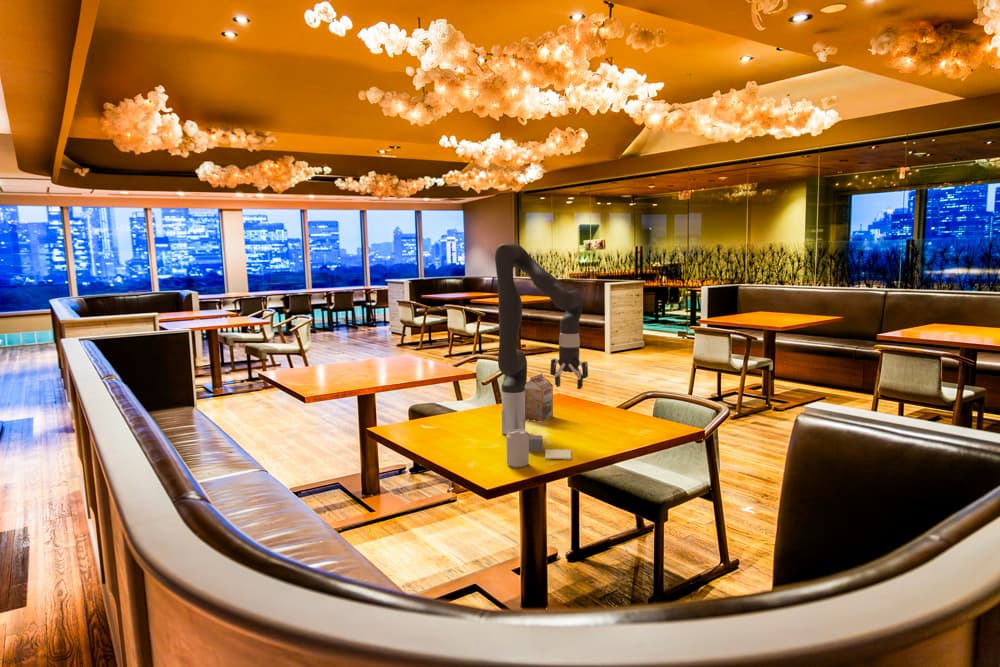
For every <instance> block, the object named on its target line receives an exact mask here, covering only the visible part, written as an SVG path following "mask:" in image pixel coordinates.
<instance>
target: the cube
mask: <svg viewBox="0 0 1000 667" xmlns="http://www.w3.org/2000/svg"><path fill="white" fill-rule="evenodd" d="M543 446H544V445H543V435H533V434H532V435H529V434H528V449H529V453H531V452H543V448H544V447H543ZM531 454H532V453H531Z"/></svg>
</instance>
